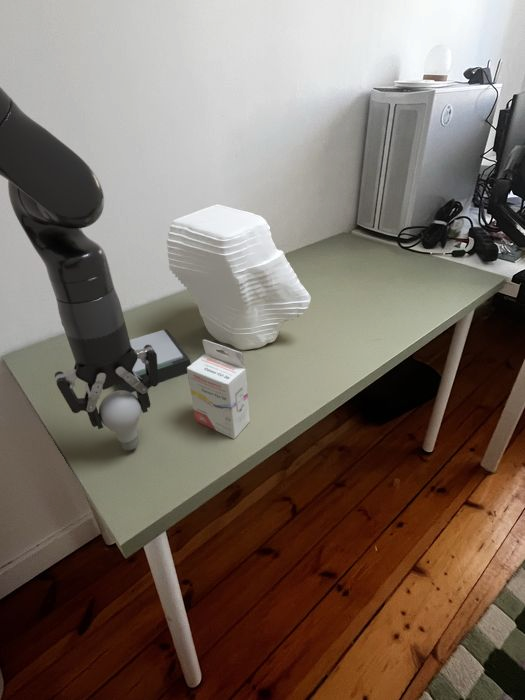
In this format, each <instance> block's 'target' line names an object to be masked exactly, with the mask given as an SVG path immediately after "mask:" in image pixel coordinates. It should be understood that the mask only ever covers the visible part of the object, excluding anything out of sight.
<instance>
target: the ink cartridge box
mask: <svg viewBox="0 0 525 700" xmlns="http://www.w3.org/2000/svg"><path fill="white" fill-rule="evenodd" d="M202 346H203V349H204V353H203V355H201V356H200V357H199V358H197V359H196V360H195V361H194V362H192V363H191V365H190V366H189V367H187V372H188V373H187V377H188V383H189V389H190V395H191V401H192V406H193V413H194V418H195V422H197V423H199V424H201V425H204V426H205V427H207V428H210V429H212V430H213V431H216V432H218V433H220V434H223V435H224V436H227V437H229V438H231V439H234V440H235V439H236V438H237V437H238V436H239V435H240V434H241V433H242V432H243V430H244V429H245V428H246V427H247V426H248V424H250V421H251V420H250V419H251V417H250V407H249V395H248V394H249V393H248V384H247V371H246V367H245V361H244V355H243V353H242V352H241V351H239V350H235V349H233V348H230V347H227V346H225V345H221V344H219V343H216V342H213V341H211V340H208V339H202ZM219 351H223V352H224V353H225V354H223V353H221V352H219ZM226 354H228V355H226Z"/></svg>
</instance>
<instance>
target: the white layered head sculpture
mask: <svg viewBox="0 0 525 700" xmlns="http://www.w3.org/2000/svg"><path fill="white" fill-rule="evenodd" d="M272 234H273V233H272V232H271V226H270V225H269V224H268V222H267V220H266V219H265V218H264V217H263V216H261V215H260V214H255V213H253V212H250V211H246V210H243V209H238V208H234V207H230V206H227V205H222V204H218V203H216V204H213V205H210V206H207V207H205V208H202V209H200V210H196V211H194V212H191V213H189V214H186V215H182V216H181V217H178V218H175V219H174V220H172V224H170V225H169V232H168V233H167V235H168V239H166V244H167V247H166V248H167V257H168V259H167V260H168V262H169V263H168V264H169V265H168V268H169V271H171V273H172V274H173V275H174V276H175V278H177V280H178V281H179V282H180V284H182V285H183V287H185V288H186V290H187V291H188V294H189V297H190V298H191V299H192V301H193V302H194V303H195V304H196V306H197V308H198V311H199V312H198V313H199V314H200V317H201V318H202V321H203V324H204V326H205V327H206V331H207V332H208V333H209V334H210V335H211V336H212V337H213V338H214V339H215V340H217V341H218V342H220V343H224V344H228V345H231V346H232V347H234V348H235V349H237V350H242V351H247V350H252V349H259V348H262V347H264V346H266V345H267V344H270V343H273V342H275V341H276V339H277V338H278V335H279V334H280V332H281V331H282V330H281V329H282V328H283V326H284V324H285V322H288V321H294V320H295V319H297V318H300V317H301V316H303V315H304V313H306V312H307V310H308V309H309V307H310V305H311V299H312V297H311V295H310V293H309V292H308V291H307V288H305V286H304V285H303V284H302V283H301V280H300V279H299V278H298V275H297V274H296V272H295V271H294V268H292V266H291V263H290V262H289V261H288V260H287V258H286V255H285V252H284V251H283V250H281V249H277V247H276V244H275V241H274V240H273V238H272Z"/></svg>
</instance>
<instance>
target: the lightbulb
mask: <svg viewBox="0 0 525 700" xmlns="http://www.w3.org/2000/svg"><path fill="white" fill-rule="evenodd" d="M98 413H99V416H100V419H101V422H102V425H103V426H104V427H106V428H107V429H109V430H110V431H111V432H113V433H114V434H115V436H116V438H117V440H118V441H119V442H120V445H121V447H122V449H124V450H125V451H131V450H134V449H136V448H137V446H139V439H138V432H139V431H138V423H139V421H140V419H141V416H142V410H141V404H140V402H139V400H138V397H137V395H135V394H133V392H128V391H124V390H121V389H120V390H113V391H112V392H110V393H108V394H107V395H106V396H104V398H103V399H102V400H101V402H100V404H99V408H98Z"/></svg>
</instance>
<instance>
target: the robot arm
mask: <svg viewBox="0 0 525 700" xmlns="http://www.w3.org/2000/svg"><path fill="white" fill-rule="evenodd" d="M0 177H2V178H4V179H6V180H7V189H8V197H9V201H10V205H11V207H12V210H13V212H14V215H15V217H16V219H17V220H18V222H19V224H20V226H21V228H22V230H23V231H24V233H25V234H26V236H27V238H28V240H29V241H30V243H31V245H32V247H33V249H34V250H35V252H36V253H37V255H38V256H39V258H40V259H41V260H42V262H43V264H44V266H45V268H46V273H47V275H48V279H49V282H50V285H51V287H52V288H51V289H52V290H53V293H54V296H55V300H56V305H57V310H58V314H59V318H60V322H61V326H62V327H63V330H64V332H65V336H66V338H67V340H68V344H69V347H70V350H71V353H72V355H73V359H74V362H75V363H74V367H73V369H70V370H69V371H68V370H67V371H66V372H63V371H61V370H60V371H56V372H55V373H54V379H55V383H56V386H57V388H58V391H60V394H61V395H62V397H63V398H64V400H65V402H66V403H67V405H68V407H69V409H70V410H71V412H72V413H73V414H79V413H80V412H86V413H87V416H88V418H89V421H90V424H91V426H92V427H93V428H96V427H97V429H98V430H101V429H104V424H103V423H102V421H101V419H100V416H99V409H98V407H97V404H98V401H99V399H100V397H101V394H102V391H104V390H107V389H110V388H111V387H114V386H119V385H120V384H123V383H125V382H124V381H126V382H128V383H129V384H130V385H131V386H132V387H134V388H135V390H136V391H135V393H136V397H137V398H138V400H139V402H140V404H141V413H143V414H145V413H148V412H149V411H148V409H150V408H151V400H150V397H149V393H148V392H149V390H150V388H152V387H157V386H158V385H159V383H160V382H158V367H157V354H156V353H155V351H154V349H153V348H152V346H151V345H146V346H145V347H144V349H140V350H134V349H133V348H132V347H131V344H130V340H131V339H130V336H129V332H128V329H127V323H126V320H125V317H124V313H123V308H122V305H121V301H120V298H119V295H118V293H117V290H116V288H115V284H114V281H113V277H112V273H111V270H110V269H111V268H110V264H109V262H108V258H107V254H106V252H105V250H104V249H103V247H102V246H101V245H100V244H98V243H97V242H95V241H94V240H93V239H91V238H90V237H88V236H87V235H86V234H85V233H84V231H83V229H86V228H88V227H90V226H92V225H94V224H95V223H96V222H97V221H98V220H99V219H100V217H101V216H102V215H103V211H104V207H105V195H104V190H103V187H102V184H101V182H100V180H99V178H98V177H97V175H96V173H95V172H94V170H93V169H92V167H90V166H89V165H88V163H87V162H86V161H85V160H84V159H83V158H82V157H80V155H78V153H76V152H75V151H74V150H73V149H71V148H70V147H69V146H68V145H67V144H65V143H64V142H62V140H60V139H59V138H57V137H56V136H55V135H54V134H53V133H52V132H50V131H49V130H47V128H45V127H44V126H42V125H40V124H39V123H38V122H37V121H36V120H34V119H33V118H31V117H30V116H28V115H27V114H26V113H25V112H24V111H23V110H22V109H21V108H20V107H19V106H18V104H17V103H16V102H15V101H14V100H13V98H11V97H10V95H8V93H7V92H6V91H5V90H4V89H3V88H2V87H1V86H0ZM137 359H141V361H142V362H143V363H144V364H145V370H146V376H145V377H144V378H142V379H141V378H140V377H139V376H138V375H137V374H136V373H135V372H134V371H133V367H134V365H135V363H136V361H137ZM76 379H79V380H80V381H82V382H84V383H85V391H84V395H83V397H78V396H77V394H76V392H75V390H74V389H73V388H74V387H75V386H76Z"/></svg>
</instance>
